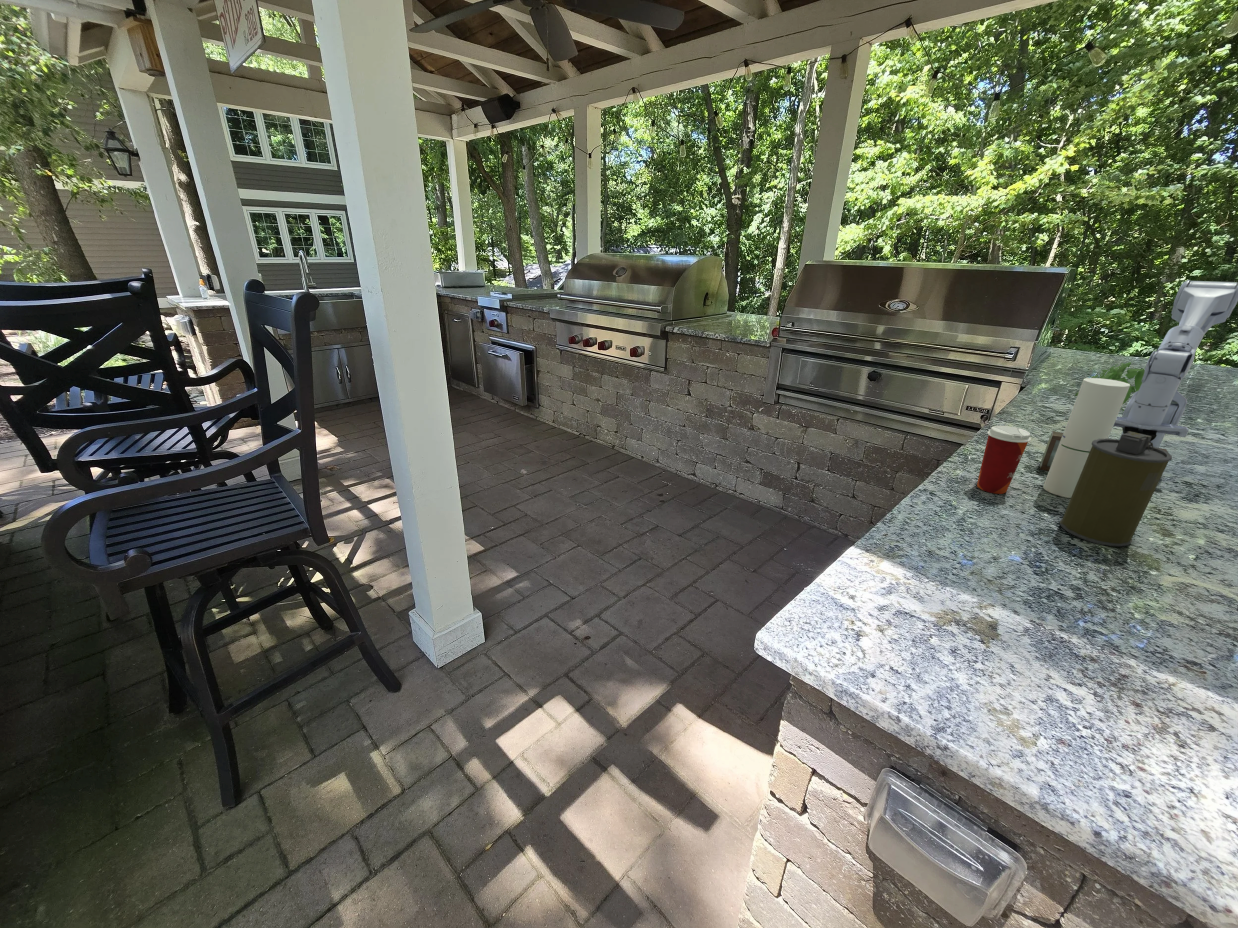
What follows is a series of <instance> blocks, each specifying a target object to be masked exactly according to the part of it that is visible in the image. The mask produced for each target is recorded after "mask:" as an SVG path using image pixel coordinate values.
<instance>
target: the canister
mask: <svg viewBox="0 0 1238 928" xmlns="http://www.w3.org/2000/svg"><path fill="white" fill-rule="evenodd" d="M1120 436H1121V435H1120ZM1151 437H1152V436H1148V435H1144V434H1140V433H1135V432H1131V431H1129V432H1127V433H1125V434H1122V436H1121V438H1120V437H1119V438H1120V440H1119V438H1108V439H1097V440H1094V441H1092V448H1091V450H1090V453H1089V455H1088V457H1087V460H1086V462H1085V465H1084V467H1083V470H1082V472H1081V475H1080V477H1079V480H1078V482H1077V484H1076V487H1075V489H1074V492H1073V494H1072V497H1071V498H1069V501H1068V504H1067V506H1066V509H1065V511H1064V513H1063V517H1062V518H1061V519H1060V521H1059V525H1060V527H1061V528H1062V529H1063V530H1064V531H1066V532H1067V533H1069V534H1070V535H1072V536H1074V537H1076V538H1078V539H1081V540H1083V541H1086V542H1090V543H1093V544H1097V545H1102V546H1110V547H1116V548H1117V547H1127V546H1129V545H1131V544H1132V542H1133V537H1134V534H1135V533H1136V531H1137V528H1138V527H1139V524H1140V522H1141V520H1142V519H1143V517H1144V514H1145V512H1146V510H1147V508H1148V505H1149V503H1150V501H1151V499H1152V498H1153V495H1154V493H1155V491H1156V489H1157V487H1158V485H1159V483H1160V480H1161V479H1162V476H1163V474H1164V472H1165V470H1166V468H1167V466H1168V464H1169V462H1170V461H1171V460H1172V459H1173V456H1172V455H1171V453H1169V451H1168V452H1166V451H1164V450H1161V449H1159V448H1160V447H1159V448H1157V447H1153V443H1151V442H1150V440H1151Z"/></svg>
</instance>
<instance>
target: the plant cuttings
mask: <svg viewBox="0 0 1238 928" xmlns="http://www.w3.org/2000/svg"><path fill="white" fill-rule="evenodd" d="M1131 364H1132V362H1131V361H1130V362H1126V363H1122V362H1120V364H1119V365H1117V364H1115V365H1113V366H1111V367H1110V368H1108V369H1101V370H1100V371H1101V372H1100V374H1099V375H1098V374H1095V375H1089V378H1101V379H1110V380H1116V381H1121V382H1125V383H1128V384H1130V387H1129V390H1128V392H1127V394H1126V397H1125V399H1124V402H1123V404H1122V406H1121V409H1120V410H1122V411H1123V412H1124V410H1125V409H1124V408H1123V405H1124V404H1126V403H1127V401H1129V400H1130V397H1131V394H1132V393H1135V392H1137V391H1139V389H1140V386H1141V384H1142V382H1141V381H1142V378H1143V376H1144V372H1145V367H1143V368H1130V366H1131ZM1126 369H1127V370H1126ZM1125 370H1126V373H1125V374H1124V372H1125ZM1123 374H1124V376H1125V377H1124V376H1123ZM1132 379H1134V385H1133V386H1132V384H1131V383H1129V382H1128V381H1129V380H1132ZM1078 393H1079V391H1077V392H1076V393H1074V397H1077V396H1078Z"/></svg>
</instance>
